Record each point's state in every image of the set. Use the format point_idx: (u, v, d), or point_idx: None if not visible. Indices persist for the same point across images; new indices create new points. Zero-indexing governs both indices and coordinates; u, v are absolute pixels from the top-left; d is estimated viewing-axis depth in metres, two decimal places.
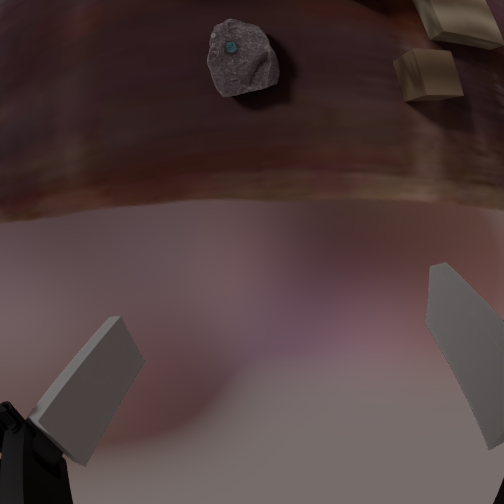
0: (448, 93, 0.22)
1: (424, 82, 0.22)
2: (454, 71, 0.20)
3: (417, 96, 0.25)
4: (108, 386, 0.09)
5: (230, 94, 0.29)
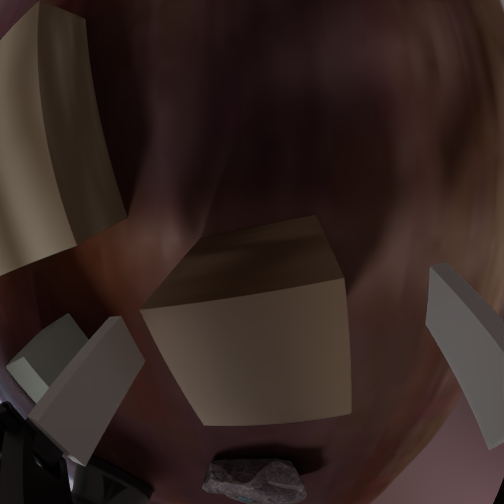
0: (343, 353, 0.08)
1: (312, 417, 0.09)
2: (229, 316, 0.08)
3: None
4: (108, 386, 0.09)
5: (304, 497, 0.20)
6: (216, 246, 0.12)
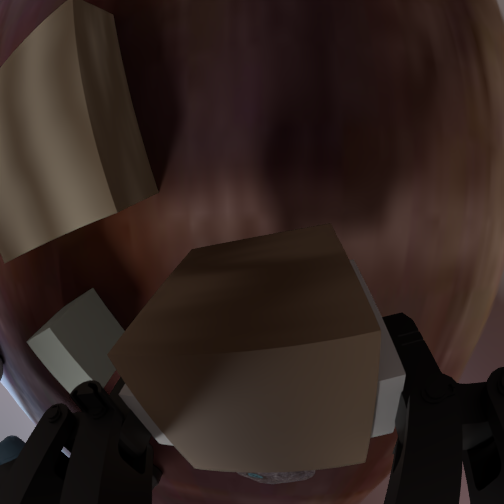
0: (366, 411, 0.05)
1: (320, 467, 0.07)
2: (220, 372, 0.05)
3: None
4: None
5: (313, 474, 0.22)
6: (209, 264, 0.10)
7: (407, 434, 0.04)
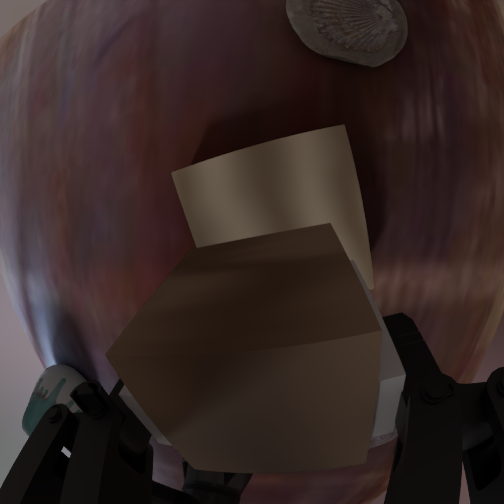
0: (367, 411, 0.05)
1: (320, 468, 0.07)
2: (219, 373, 0.05)
3: None
4: None
5: None
6: (208, 263, 0.10)
7: (407, 434, 0.04)
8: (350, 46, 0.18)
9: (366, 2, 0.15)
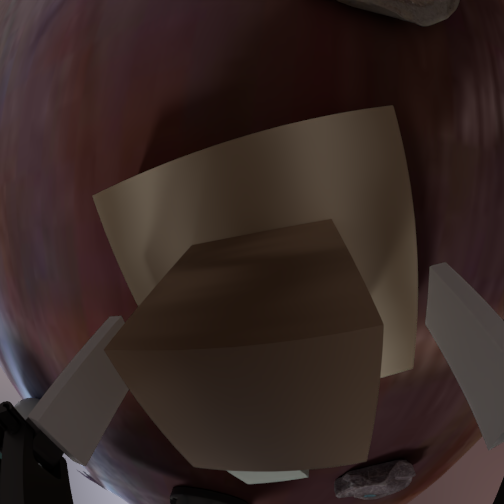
0: (368, 408, 0.05)
1: (320, 466, 0.07)
2: (218, 368, 0.05)
3: None
4: (108, 386, 0.09)
5: None
6: (209, 259, 0.10)
7: None
8: None
9: None
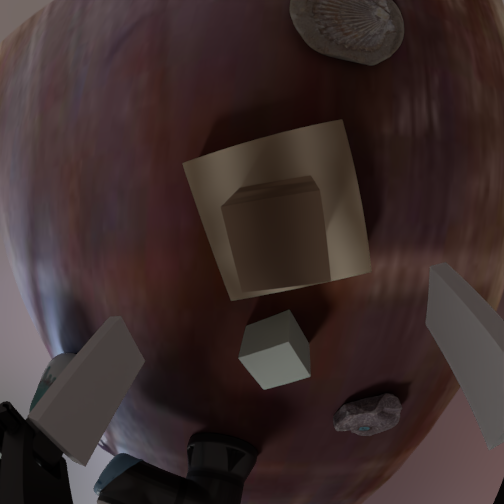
0: (322, 232, 0.17)
1: (308, 282, 0.18)
2: (267, 207, 0.16)
3: None
4: (108, 386, 0.09)
5: (397, 422, 0.35)
6: (253, 188, 0.21)
7: None
8: (349, 46, 0.19)
9: (365, 4, 0.17)
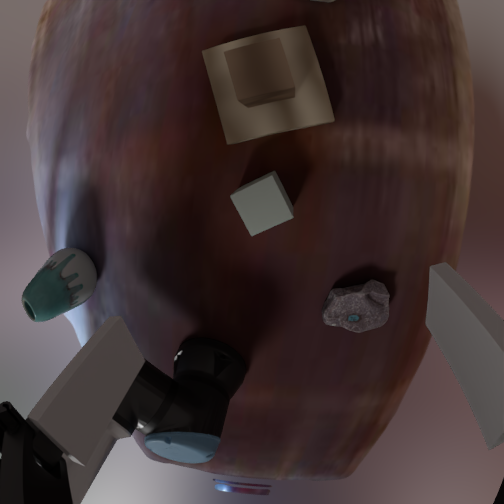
0: (284, 58, 0.23)
1: (280, 88, 0.24)
2: (250, 48, 0.23)
3: (293, 91, 0.26)
4: (108, 386, 0.09)
5: (387, 318, 0.42)
6: None
7: None
8: None
9: None
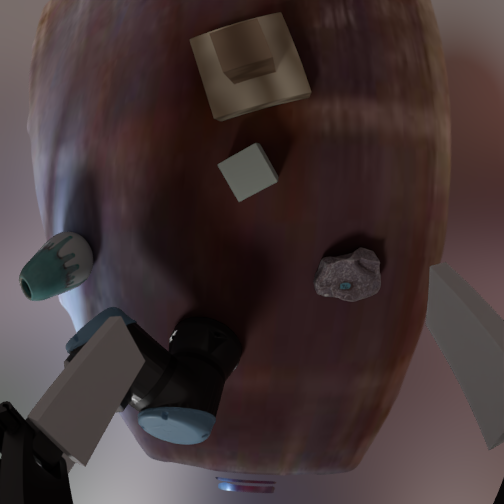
0: (262, 34, 0.24)
1: (259, 59, 0.26)
2: (232, 29, 0.24)
3: (273, 63, 0.28)
4: (108, 386, 0.09)
5: (379, 285, 0.43)
6: None
7: None
8: None
9: None
